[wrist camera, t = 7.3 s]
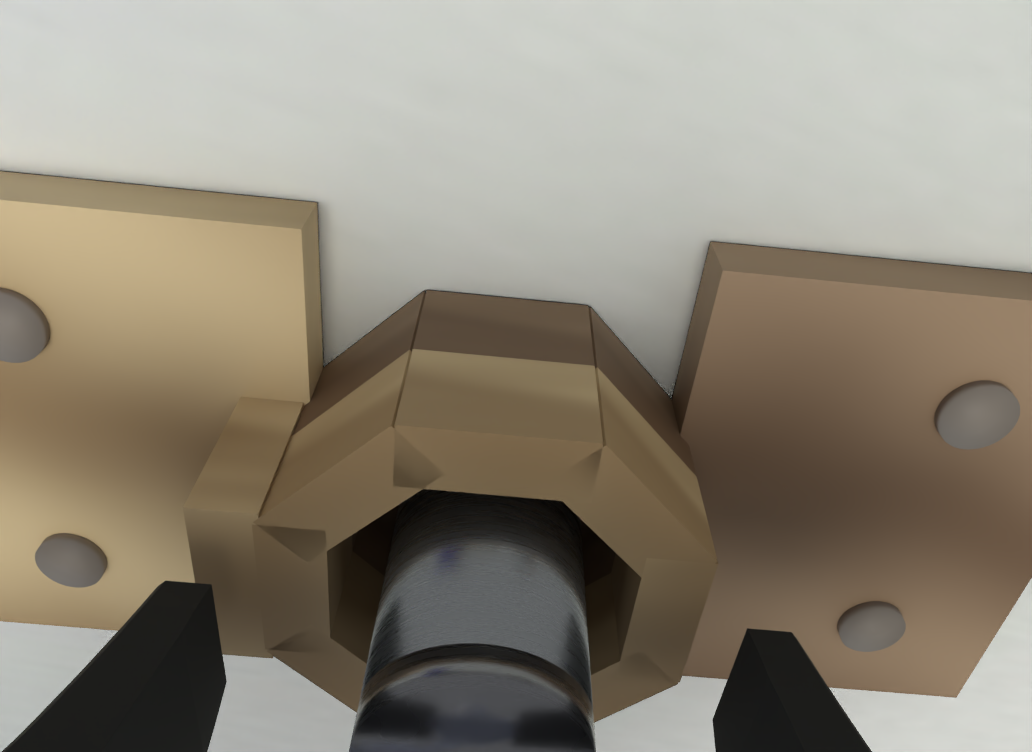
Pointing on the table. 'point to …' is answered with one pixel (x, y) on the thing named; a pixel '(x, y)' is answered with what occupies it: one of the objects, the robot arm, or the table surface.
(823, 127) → the table surface
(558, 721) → the grey cylinder
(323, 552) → the hinge leaf
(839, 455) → the hinge plate
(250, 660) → the table surface
